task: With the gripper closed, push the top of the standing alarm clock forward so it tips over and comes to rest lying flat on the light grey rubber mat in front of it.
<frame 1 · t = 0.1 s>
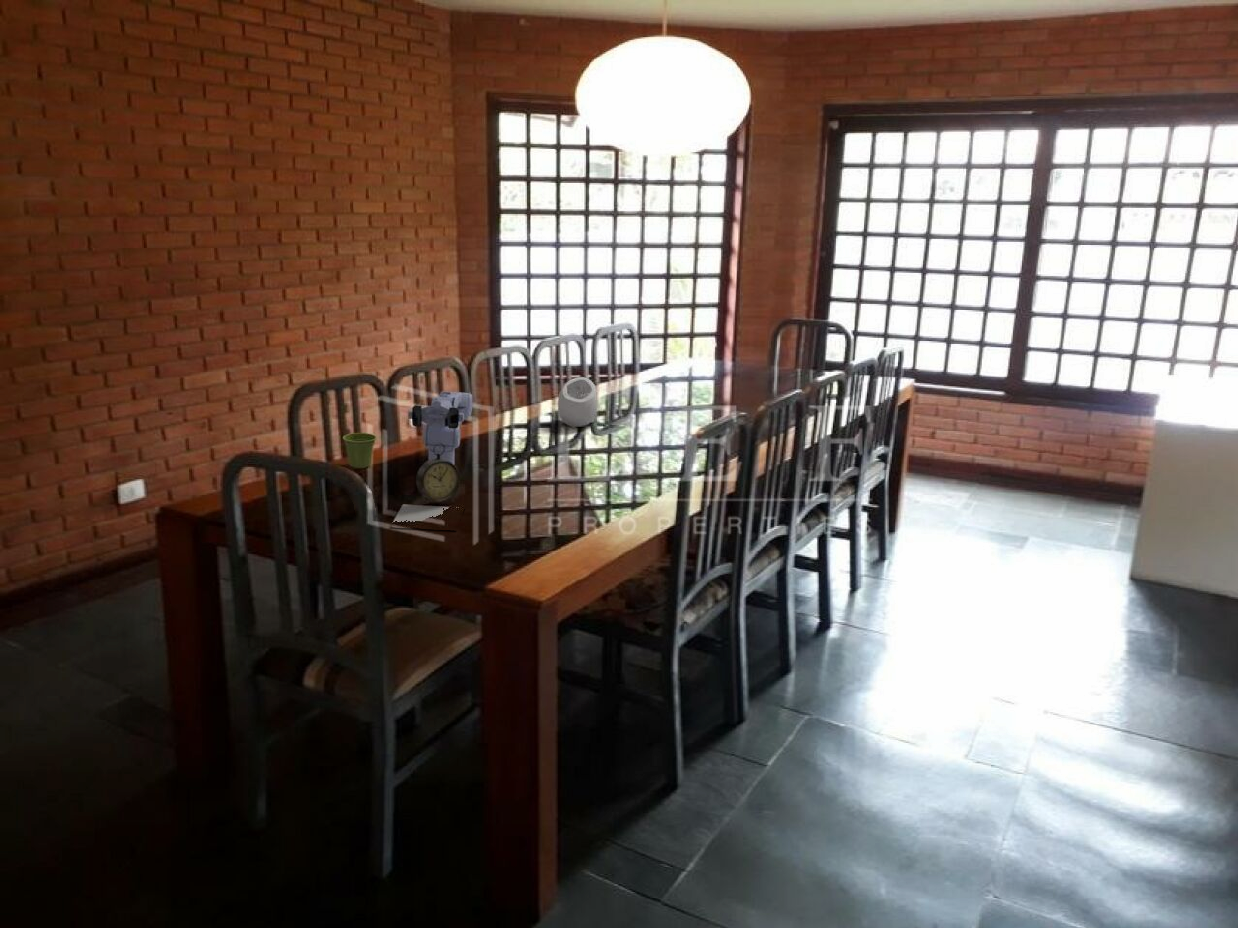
hand: (431, 421, 246), 22 cm above the table, tool horizontal, fingers open, 7 cm apart
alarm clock: (435, 503, 249), on the table, touching mat
plant pot: (360, 466, 276), on the table
mat: (429, 518, 239), on the table
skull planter: (577, 424, 341), on the table
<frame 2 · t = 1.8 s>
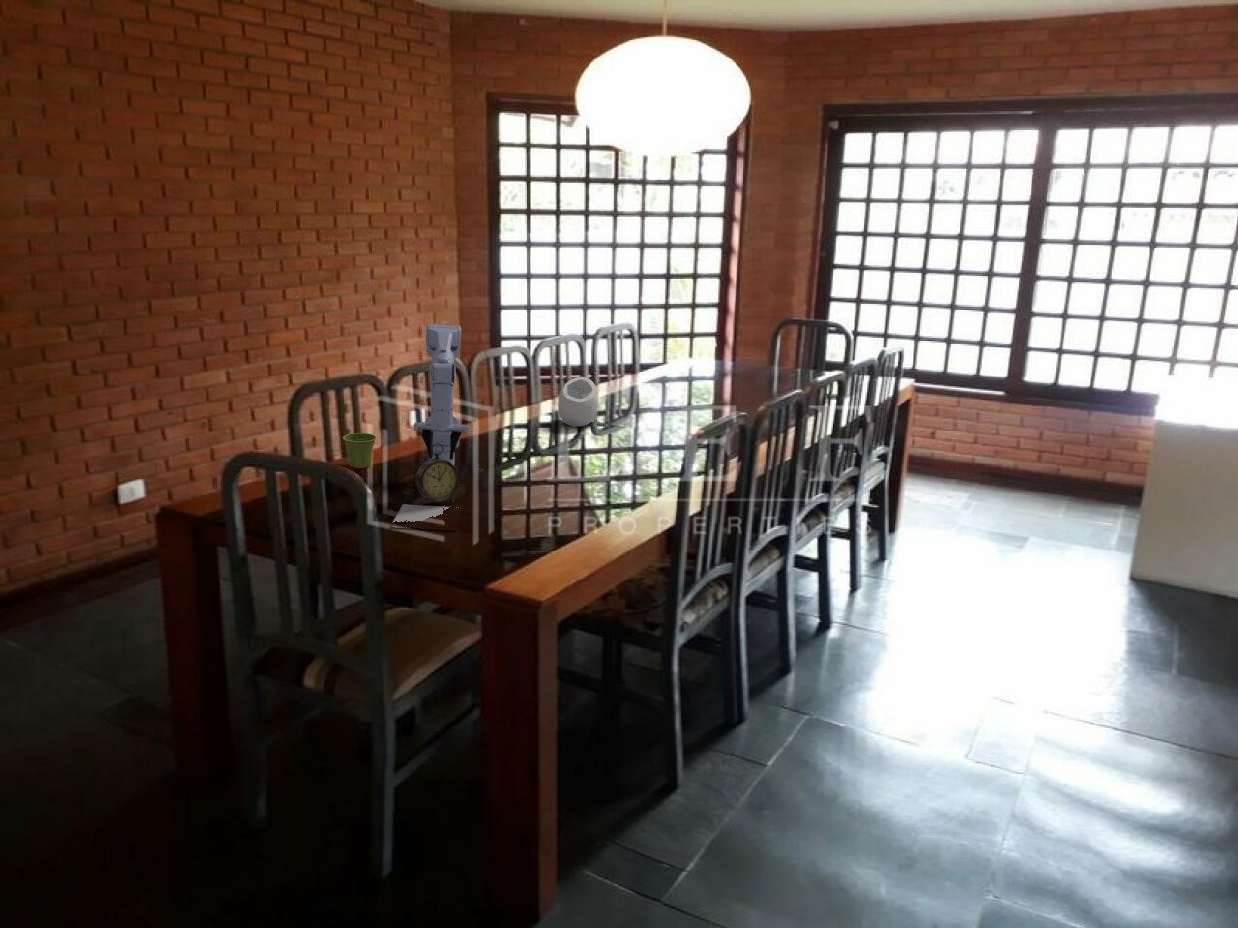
hand: (441, 458, 253), 10 cm above the table, tool pointing down, fingers open, 5 cm apart
nothing on the table moved.
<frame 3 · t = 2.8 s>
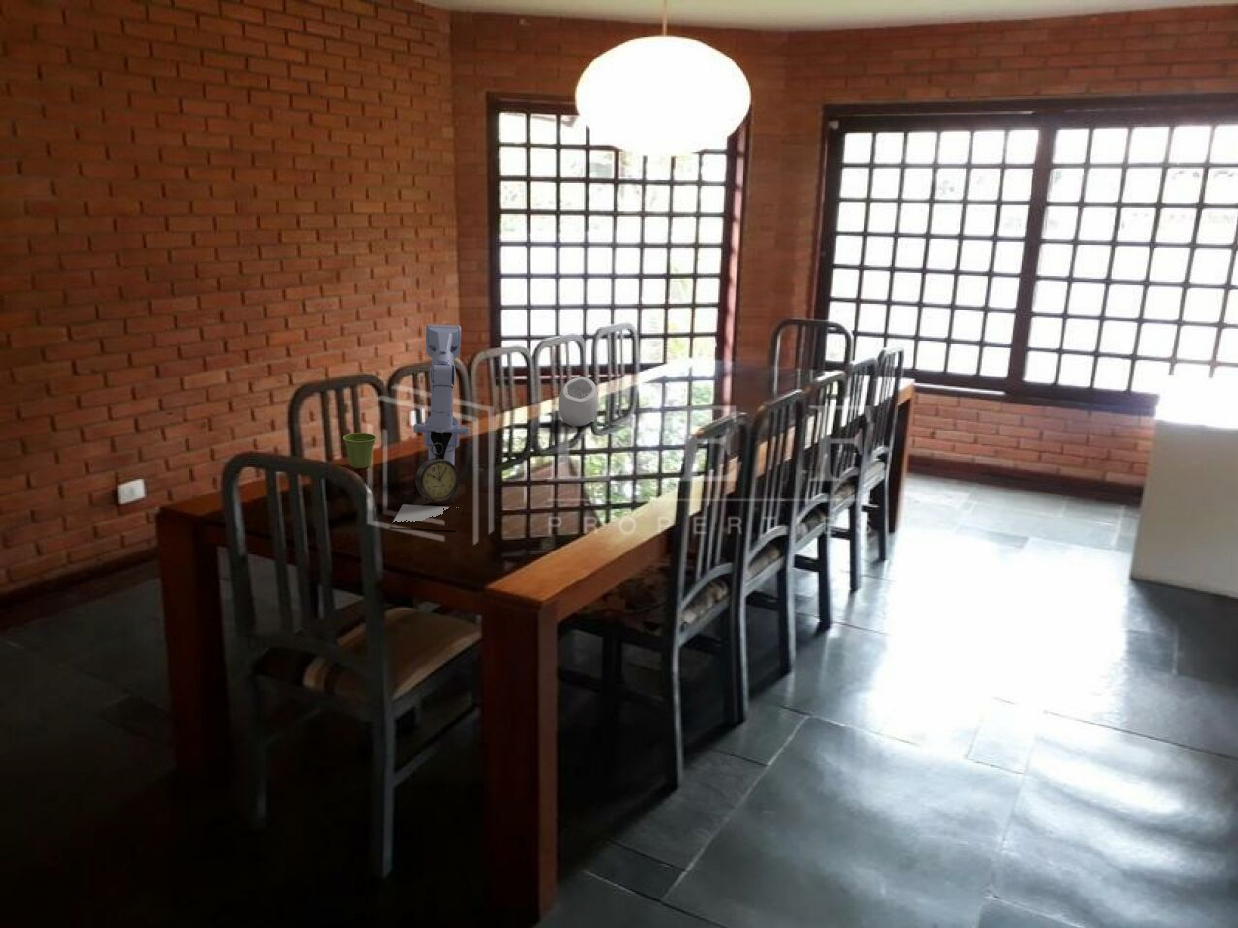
hand: (441, 459, 254), 10 cm above the table, tool pointing down, fingers closed
nothing on the table moved.
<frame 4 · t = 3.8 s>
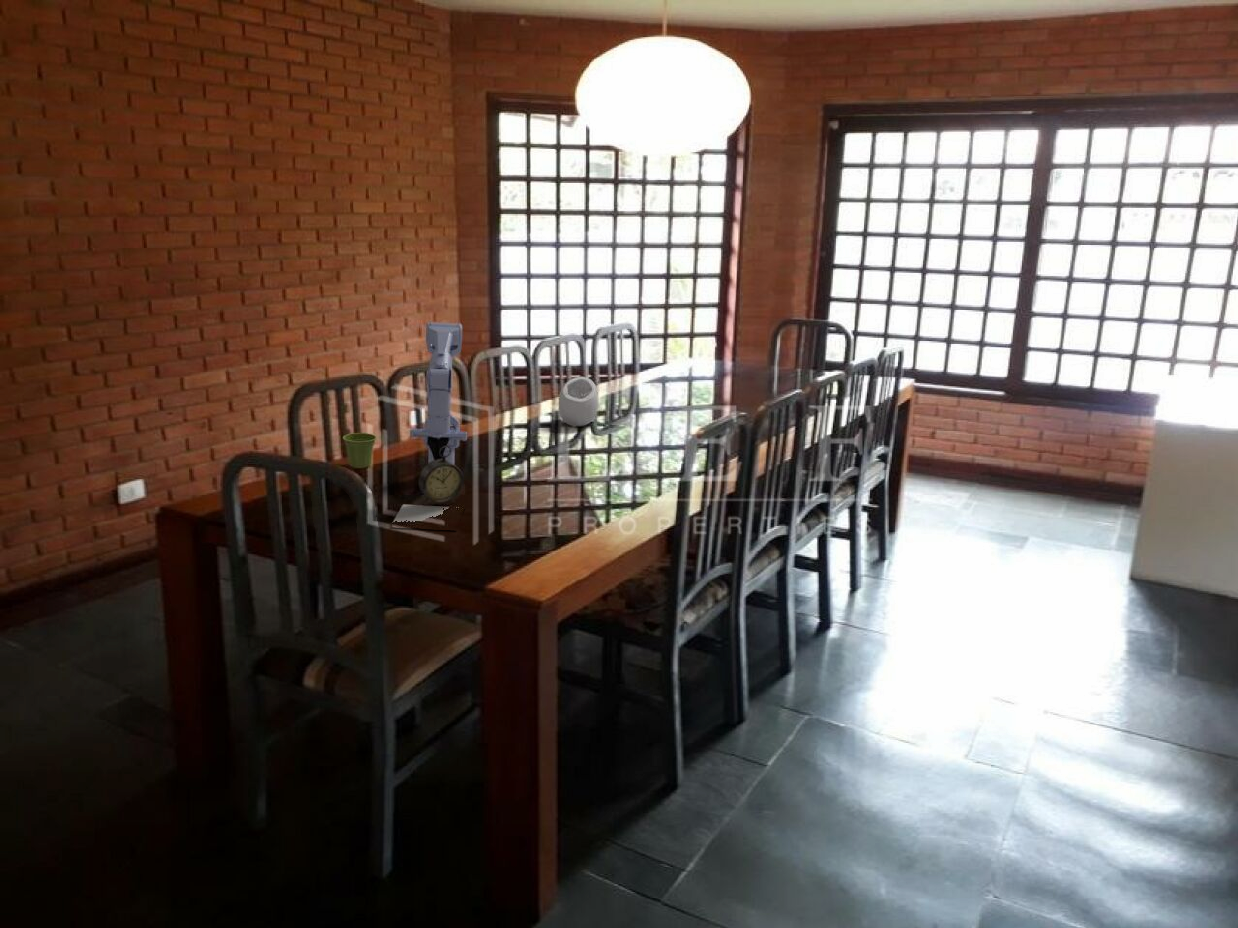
hand: (438, 465, 249), 10 cm above the table, tool pointing down, fingers closed
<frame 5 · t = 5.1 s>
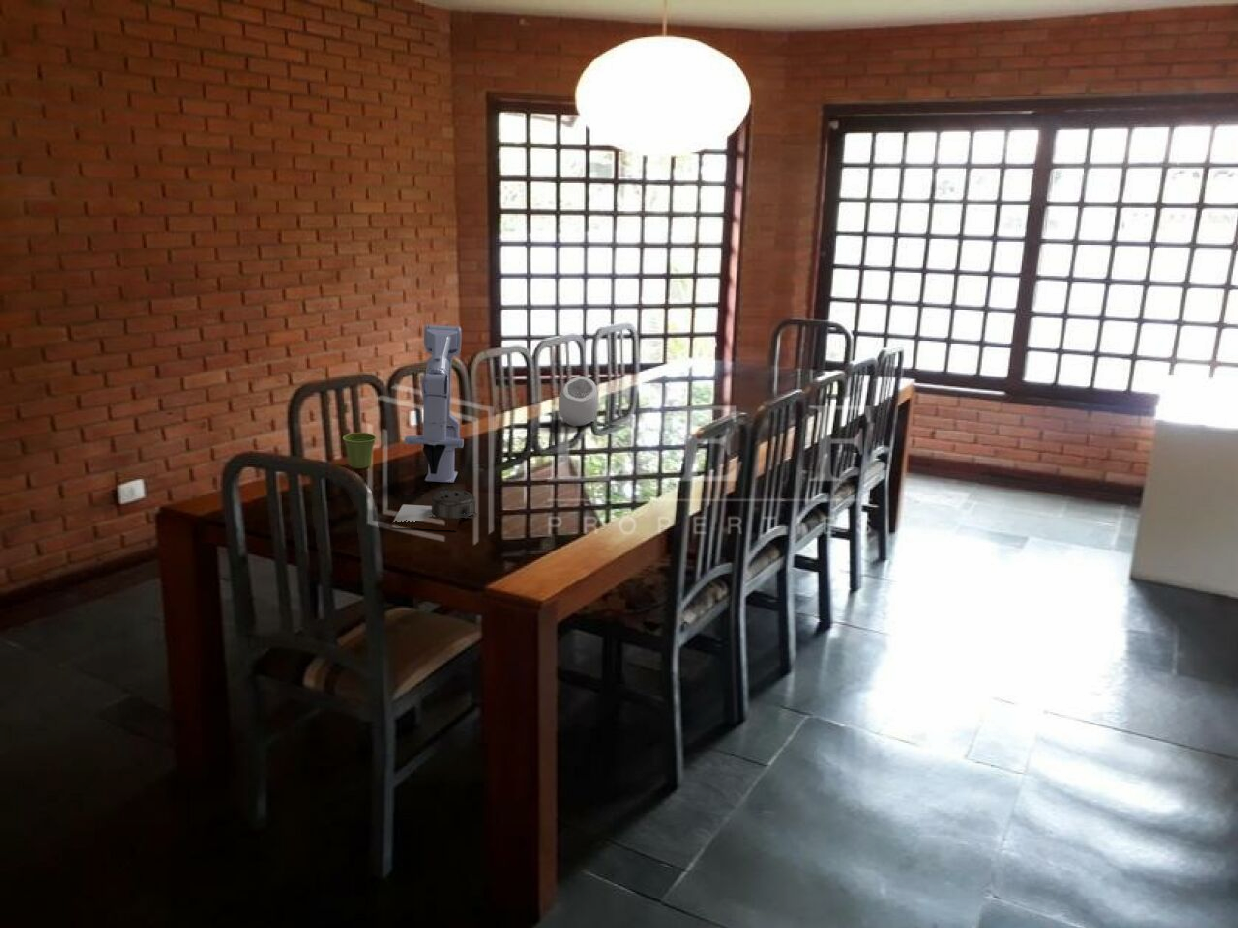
hand: (434, 472, 243), 10 cm above the table, tool pointing down, fingers closed
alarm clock: (440, 494, 247), point 3 cm above the table, touching mat
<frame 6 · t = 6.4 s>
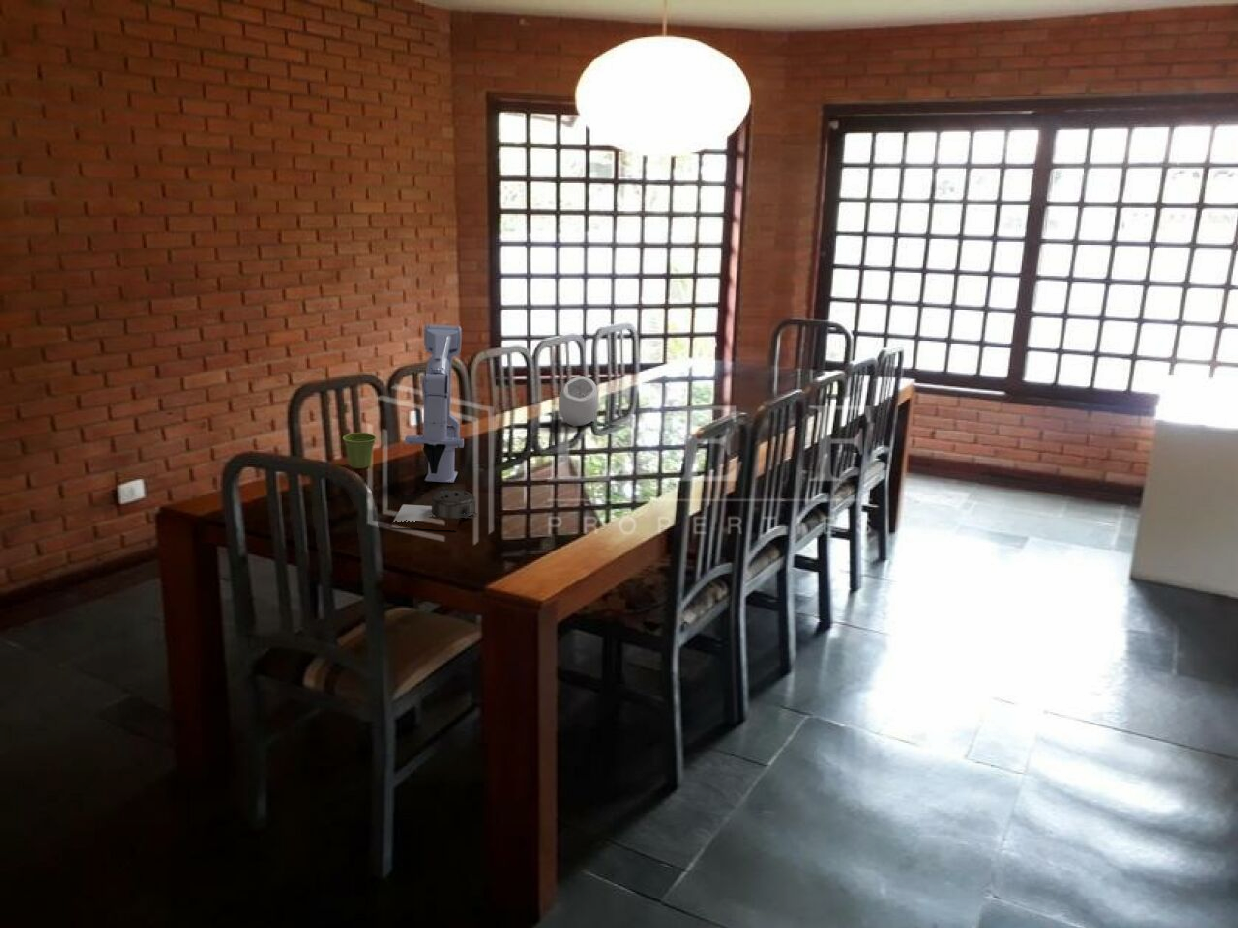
hand: (434, 472, 243), 10 cm above the table, tool pointing down, fingers closed
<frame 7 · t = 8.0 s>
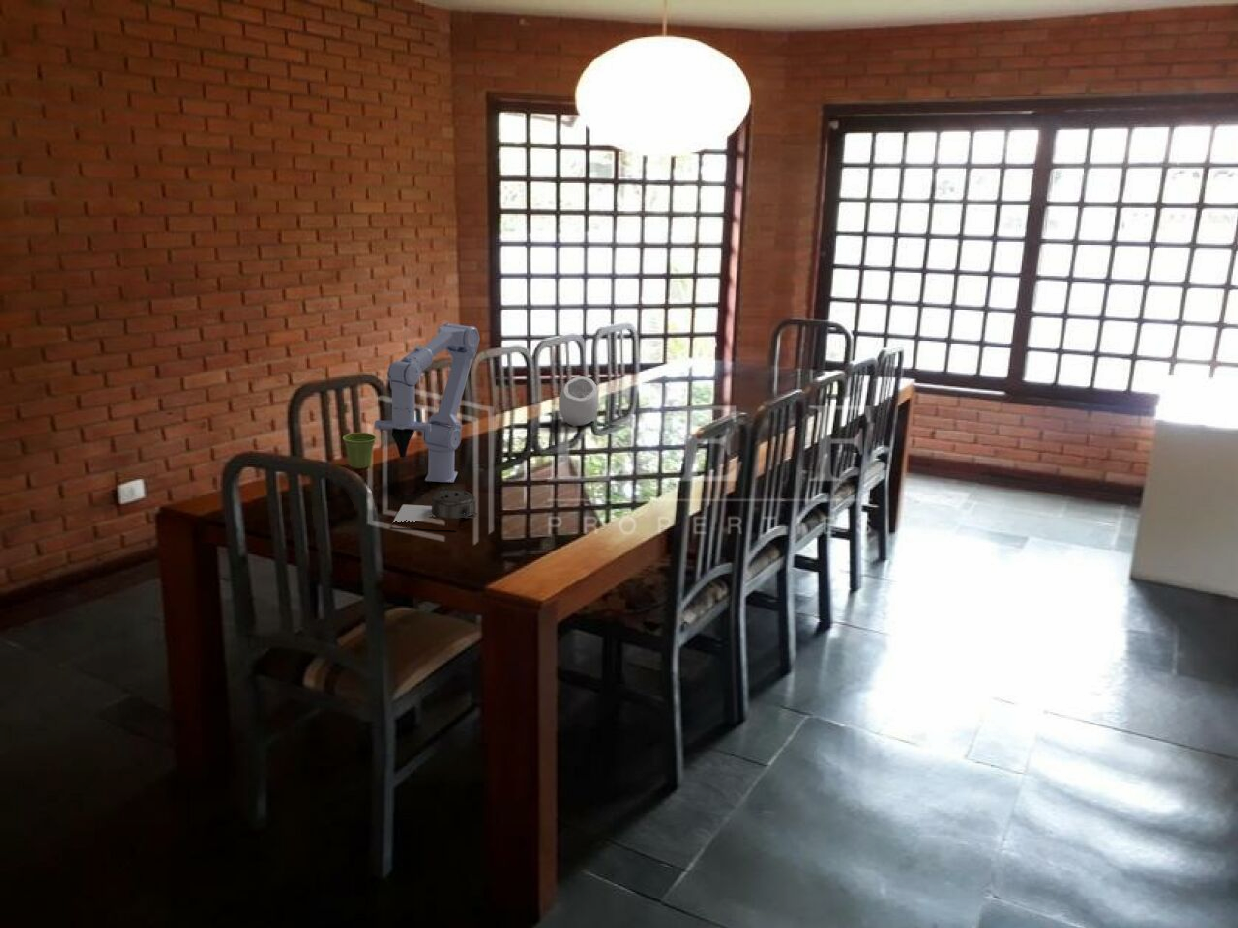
hand: (402, 456, 252), 10 cm above the table, tool pointing down, fingers closed
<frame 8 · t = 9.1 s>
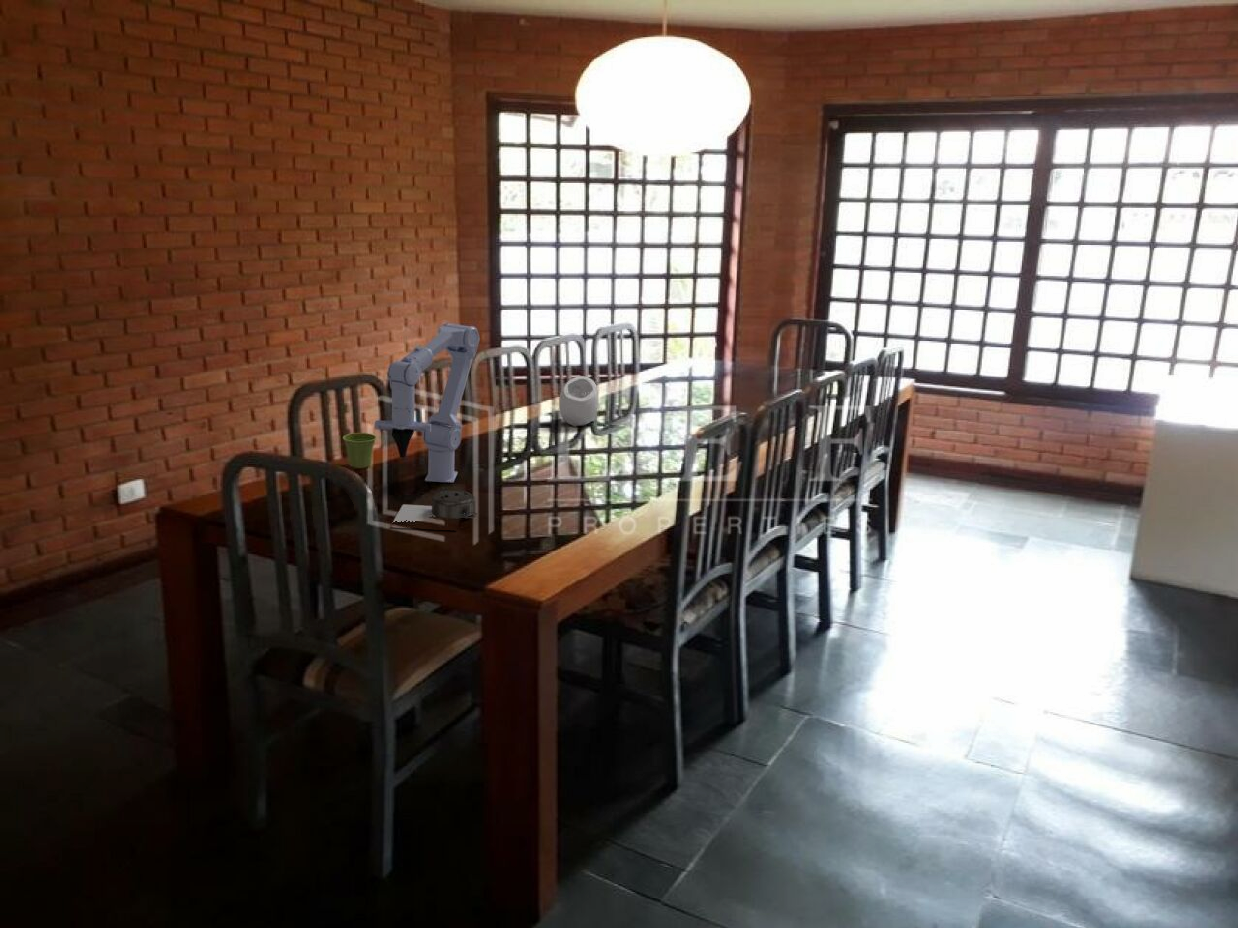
hand: (402, 456, 252), 10 cm above the table, tool pointing down, fingers closed
at the end: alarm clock tilted 93°; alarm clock inside the target area (7.4 cm from its centre), point 3.3 cm above the table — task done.
